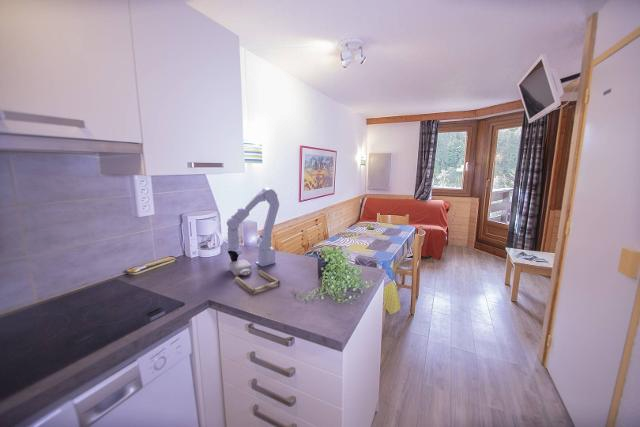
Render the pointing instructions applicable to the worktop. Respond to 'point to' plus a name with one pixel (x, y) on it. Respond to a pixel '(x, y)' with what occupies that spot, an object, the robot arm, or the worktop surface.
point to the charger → (240, 267)
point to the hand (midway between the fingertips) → (234, 263)
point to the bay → (261, 288)
